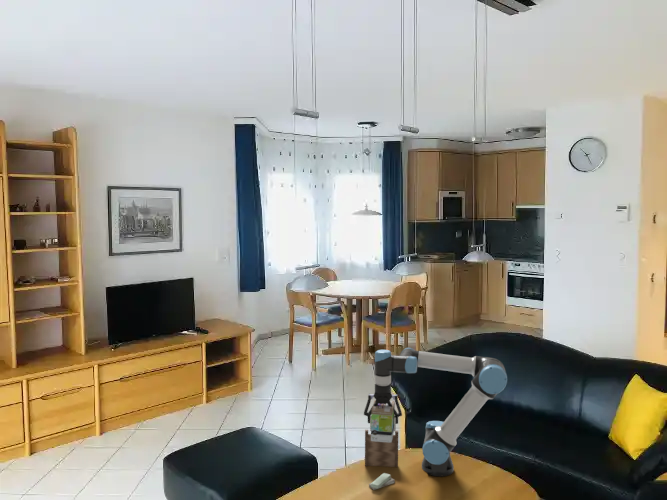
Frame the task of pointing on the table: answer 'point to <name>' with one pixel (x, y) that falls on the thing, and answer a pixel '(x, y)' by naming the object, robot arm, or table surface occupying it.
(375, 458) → the rack
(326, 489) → the table surface
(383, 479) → the sage painted offcut
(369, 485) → the grey board offcut
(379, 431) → the tea box
